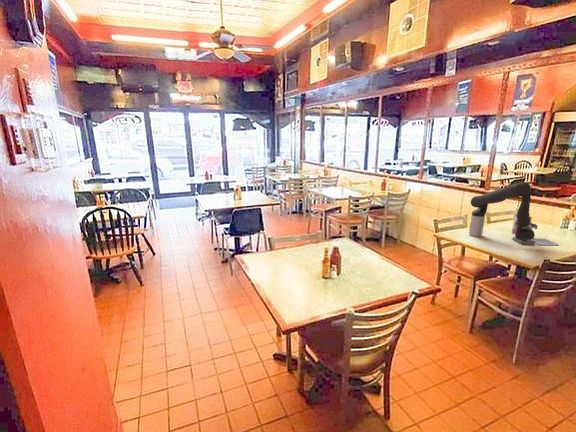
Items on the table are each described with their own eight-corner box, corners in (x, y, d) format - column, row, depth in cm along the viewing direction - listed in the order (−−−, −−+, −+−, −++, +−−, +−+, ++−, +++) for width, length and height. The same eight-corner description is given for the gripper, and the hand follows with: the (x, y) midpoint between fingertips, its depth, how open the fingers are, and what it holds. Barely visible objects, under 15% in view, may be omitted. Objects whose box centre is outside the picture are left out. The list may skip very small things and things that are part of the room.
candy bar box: (511, 232, 263) (514, 214, 258) (517, 232, 262) (520, 214, 258) (520, 237, 252) (523, 217, 248) (526, 237, 252) (530, 217, 247)
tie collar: (510, 239, 248) (510, 236, 247) (523, 239, 247) (524, 236, 246) (520, 244, 236) (521, 241, 235) (534, 244, 235) (534, 241, 235)
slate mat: (526, 239, 247) (526, 238, 246) (545, 239, 246) (545, 238, 245) (539, 245, 233) (539, 244, 233) (558, 245, 232) (558, 244, 232)
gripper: (539, 225, 221) (539, 219, 234) (514, 222, 229) (515, 216, 242) (537, 235, 223) (537, 229, 236) (512, 231, 231) (514, 226, 244)
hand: (526, 222), depth 239 cm, fingers closed on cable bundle, 5 cm apart
